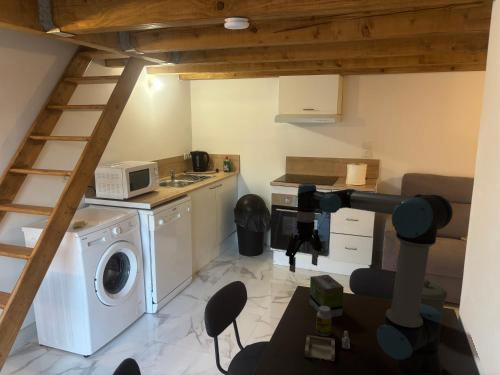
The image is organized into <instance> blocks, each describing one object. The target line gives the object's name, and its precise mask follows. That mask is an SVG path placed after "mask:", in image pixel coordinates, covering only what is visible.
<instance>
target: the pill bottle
mask: <svg viewBox="0 0 500 375" xmlns="http://www.w3.org/2000/svg"><path fill="white" fill-rule="evenodd" d="M332 318H333V317H332V315H331V313H330V308H329V307H327V306H320V307H319V312H317V313H316V324H315V325H316V326H315V332H316V334H317V335H319V336H320V337H328V336H330V334H332V332H331V331H332Z"/></svg>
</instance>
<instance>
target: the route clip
mask: <svg viewBox="0 0 500 375" xmlns="http://www.w3.org/2000/svg"><path fill="white" fill-rule="evenodd" d="M350 344H351V341H350V338H349V331H348V330H344V331H343V337H342V338H341V348H342V349H348V350H350V349H351V345H350Z"/></svg>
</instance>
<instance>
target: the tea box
mask: <svg viewBox="0 0 500 375" xmlns="http://www.w3.org/2000/svg"><path fill="white" fill-rule="evenodd" d="M309 283H310V285H309V305H311V307H312V308H313V309H314V311H316V312H317V313H318V312H319V307H320V306H327V307H329V308H330V313H331V315H332V318H336V317H341V316H343V305H344V301H343V300H344V288H345V287H344V286H343V285H342V284H341V283H339V281H337V280H335V278H333V276H331V275H330V274H321V275H320V274H319V275H314V276H313V275H312V276H310V282H309Z"/></svg>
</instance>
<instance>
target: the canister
mask: <svg viewBox="0 0 500 375" xmlns="http://www.w3.org/2000/svg"><path fill="white" fill-rule="evenodd" d="M448 297H449V293H448V292H447V290H446V289H444V288H443V287H442V286H440V285H438V284H436V283H434V282H431V281H430V280H429V279H427V278H425V279H424V285H423V292H422V298H421V304H425V305H428V306H431V307H433V308H435V309H437V310H438V311H439V312H440V313H441V315H443V310H444V306H445V302H446V298H448Z"/></svg>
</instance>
